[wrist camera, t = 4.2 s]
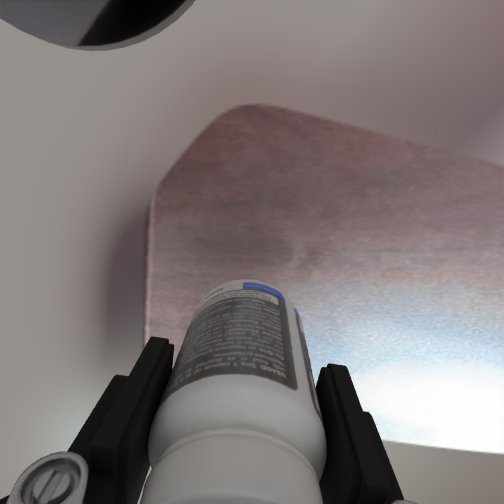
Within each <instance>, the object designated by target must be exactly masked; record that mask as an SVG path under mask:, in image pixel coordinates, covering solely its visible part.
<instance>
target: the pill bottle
mask: <svg viewBox="0 0 504 504" xmlns="http://www.w3.org/2000/svg"><path fill="white" fill-rule="evenodd" d="M148 455H149V461H150V465H151V468H152V470H151V472H150V474H149V476H148V478H147V480H146V483H145V485H144V489H143V494H142V498H141V501H140V504H323V501H322V496H321V491H320V486H319V481H320V479H321V477H322V474H323V471H324V468H325V464H326V457H327V444H326V434H325V429H324V424H323V420H322V416H321V411H320V408H319V403H318V398H317V393H316V389H315V384H314V379H313V375H312V369H311V363H310V358H309V355H308V349H307V346H306V341H305V336H304V331H303V326H302V322H301V318H300V315H299V313H298V311H297V309H296V307H295V305H294V304H293V302H292V301H291V300H290V299H289V297H288V296H287V295H286V294H284V293H283V292H282V291H280V290H279V289H278V288H276V287H275V286H273V285H271V284H268V283H265V282H263V281H258V280H251V279H243V280H234V281H229V282H226V283H224V284H222V285H219V286H218V287H216V288H214V289H213V290H211V291H210V292H209V293H208V294H207V295H206V296H205V297H204V298H203V299H202V300H201V301H200V303H199V304H198V306H197V308H196V310H195V312H194V314H193V317H192V319H191V322H190V325H189V327H188V330H187V333H186V336H185V338H184V341H183V343H182V346H181V349H180V351H179V354H178V357H177V359H176V362H175V365H174V367H173V370H172V372H171V375H170V378H169V380H168V383H167V385H166V388H165V390H164V393H163V395H162V398H161V400H160V403H159V405H158V407H157V409H156V412H155V415H154V418H153V421H152V424H151V428H150V433H149V439H148Z"/></svg>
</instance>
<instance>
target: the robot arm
mask: <svg viewBox="0 0 504 504" xmlns="http://www.w3.org/2000/svg"><path fill="white" fill-rule="evenodd" d="M173 354H174V344H169V339H166V338H159V337H151V338H150V339H149V341H148V343H147V344H146V346H145V348H144V350H143V352H142V353H141V355H140V357H139V359H138V361H137V362H136V364H135V366H134V368H133V369H132V371H131V373H130V375H129V376H123V375H115V376H114V378H113V379H112V380H111V382H110V383H109V385H108V387H107V388H106V390H105V391H104V393H103V395H102V396H101V398H100V400H99V401H98V403H97V404H96V406H95V408H94V409H93V411H92V413H91V414H90V416H89V417H88V419H87V420H86V422H85V424H84V425H83V427H82V428H81V430H80V432H79V433H78V435H77V437H76V438H75V440H74V441H73V443H72V445H71V447H70V448H69V449H68V451H67V452H57V453H53V454H49V455H47V456H45V457H42V458H40V459H38V460H37V461H36V462H34V463H33V464H31V465H30V466H29V467H28V468H27V469H26V470H25V471H24V472H23V473H22V474H21V475H20V477H19V478H18V480H17V481H16V483H15V485H14V487H13V489H12V491H11V494H10V495H8V496H6V497H5V498H2V499H0V504H137V502H138V500H139V497H140V494H141V491H142V488H143V485H144V482H145V479H146V476H147V473H148V470H149V467H150V461H149V455H148V439H149V433H150V428H151V424H152V421H153V418H154V415H155V412H156V409H157V407H158V405H159V403H160V400H161V398H162V395H163V393H164V390H165V388H166V385H167V383H168V380H169V378H170V375H171V372H172V365H173ZM315 389H316V393H317V398H318V403H319V408H320V411H321V416H322V420H323V424H324V429H325V434H326V444H327V457H326V464H325V468H324V471H323V474H322V477H321V479H320V481H319V486H320V491H321V496H322V501H323V504H417V503H415V502H412V501H408V500H404V498H403V495H402V492H401V489H400V487H399V484H398V482H397V479H396V477H395V474H394V471H393V469H392V466H391V464H390V461H389V458H388V456H387V453H386V451H385V449H384V446H383V443H382V440H381V438H380V435H379V433H378V430H377V428H376V425H375V422H374V420H373V418H372V416H371V414H370V413H369V412H365V411H363V410H362V407H361V405H360V402H359V399H358V396H357V393H356V391H355V388H354V385H353V382H352V380H351V377H350V374H349V371H348V369H347V367H346V366H343V365H337V364H330V363H329V364H328V365H327V367H322V368H321V370H320V374H319V377H318V381H317V385H316V388H315Z"/></svg>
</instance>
